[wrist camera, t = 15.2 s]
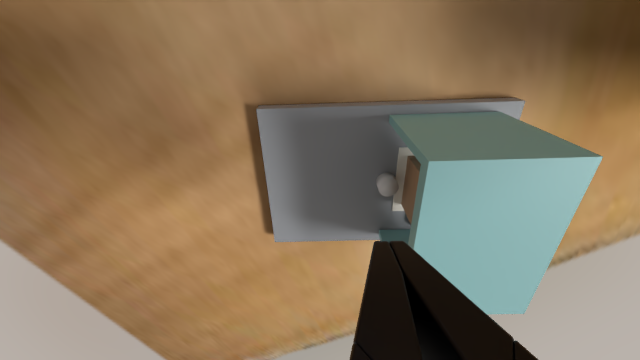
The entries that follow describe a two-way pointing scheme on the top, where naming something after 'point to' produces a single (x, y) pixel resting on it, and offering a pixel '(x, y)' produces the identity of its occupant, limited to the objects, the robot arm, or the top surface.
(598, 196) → the top surface
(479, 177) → the housing cover
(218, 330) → the top surface
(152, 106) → the top surface
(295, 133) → the base plate
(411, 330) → the robot arm
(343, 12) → the top surface
